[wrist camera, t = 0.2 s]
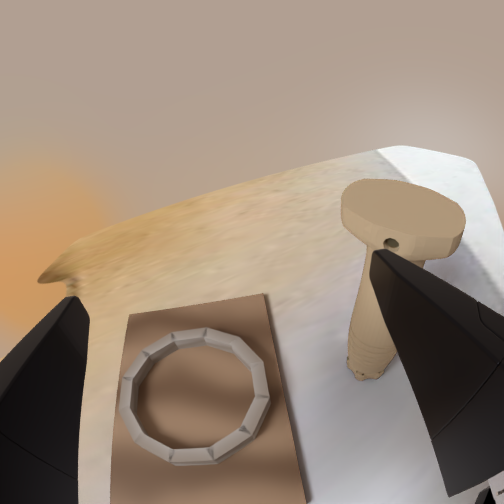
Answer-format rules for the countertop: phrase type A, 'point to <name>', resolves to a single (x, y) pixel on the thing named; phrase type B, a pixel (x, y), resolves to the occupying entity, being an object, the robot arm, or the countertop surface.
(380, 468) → the countertop surface
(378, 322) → the handle
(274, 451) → the socket board
